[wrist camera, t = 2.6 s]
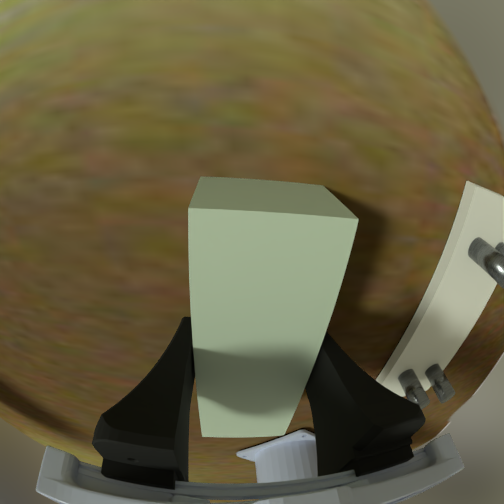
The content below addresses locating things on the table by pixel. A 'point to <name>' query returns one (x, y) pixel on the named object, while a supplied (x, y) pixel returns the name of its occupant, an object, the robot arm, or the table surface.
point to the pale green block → (261, 296)
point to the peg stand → (451, 299)
